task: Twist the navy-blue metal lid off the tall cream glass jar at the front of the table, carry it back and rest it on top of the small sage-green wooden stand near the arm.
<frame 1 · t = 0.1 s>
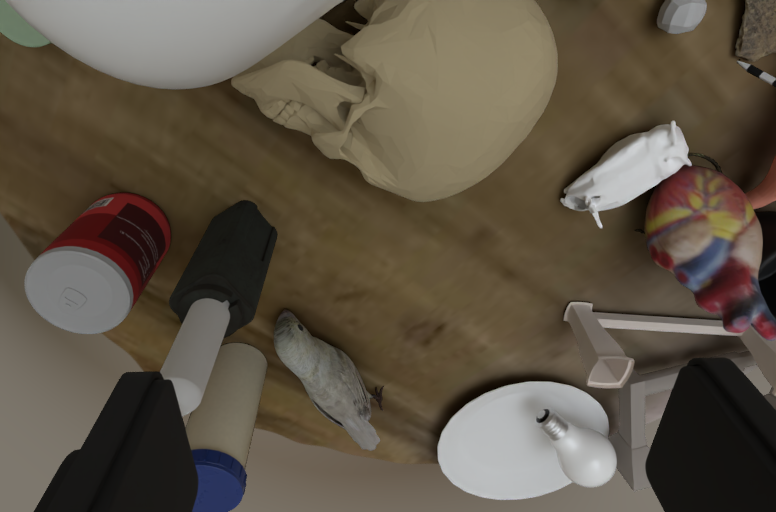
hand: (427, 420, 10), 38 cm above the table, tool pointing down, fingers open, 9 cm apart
lid: (203, 487, 46), point 15 cm above the table, screwed on, not yet turned
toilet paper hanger: (731, 422, 57), point 7 cm above the table, touching plate
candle: (244, 228, 51), on the table
mug: (758, 233, 53), on the table
canned food: (132, 227, 50), on the table
decorative bird: (330, 354, 59), on the table
stand: (51, 4, 40), on the table
bird figurine: (577, 207, 47), point 4 cm above the table
plate: (517, 430, 67), on the table, touching lightbulb, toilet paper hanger
jar: (239, 364, 59), on the table
lightbulb: (539, 412, 60), point 4 cm above the table, touching plate
toilet paper hanger 2: (690, 330, 53), point 5 cm above the table
anatomical model: (677, 193, 51), touching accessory
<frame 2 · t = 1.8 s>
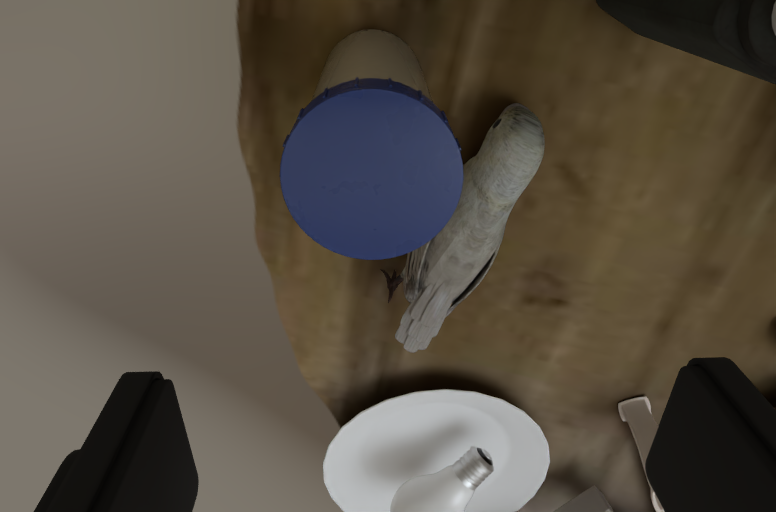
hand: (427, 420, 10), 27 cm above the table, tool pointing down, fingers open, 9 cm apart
lid: (372, 178, 20), point 15 cm above the table, screwed on, not yet turned
decorative bird: (455, 201, 38), on the table
plate: (433, 450, 51), on the table, touching lightbulb, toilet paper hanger
jar: (372, 82, 33), on the table
lightbulb: (489, 451, 46), point 4 cm above the table, touching plate
toilet paper hanger 2: (693, 507, 49), point 5 cm above the table
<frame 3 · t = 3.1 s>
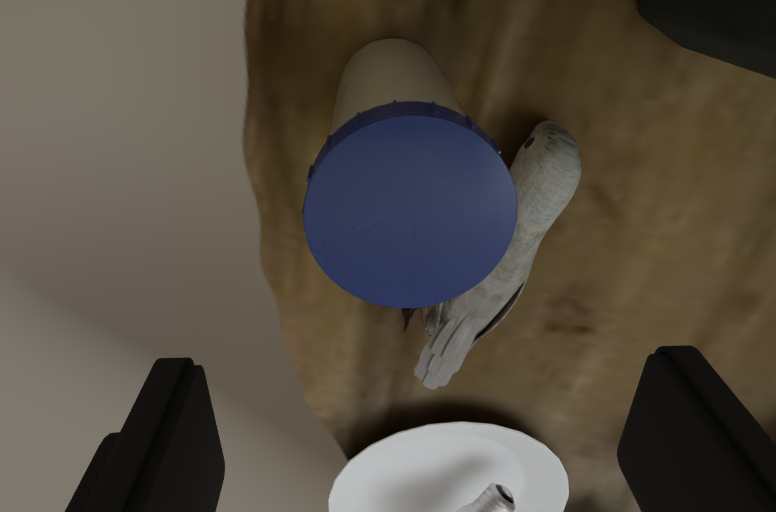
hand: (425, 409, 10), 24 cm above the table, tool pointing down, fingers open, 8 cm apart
lid: (409, 217, 17), point 15 cm above the table, screwed on, not yet turned
decorative bird: (477, 224, 35), on the table
plate: (445, 481, 48), on the table, touching lightbulb, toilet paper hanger
jar: (391, 96, 31), on the table
lightbulb: (509, 488, 43), point 4 cm above the table, touching plate
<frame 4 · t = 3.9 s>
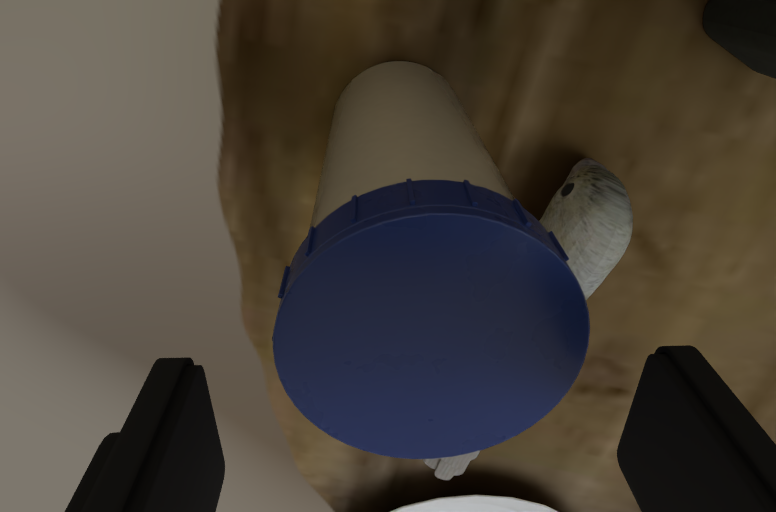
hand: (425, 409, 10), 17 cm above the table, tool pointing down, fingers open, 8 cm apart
lid: (430, 344, 12), point 15 cm above the table, screwed on, not yet turned
decorative bird: (498, 276, 30), on the table
jar: (398, 129, 25), on the table
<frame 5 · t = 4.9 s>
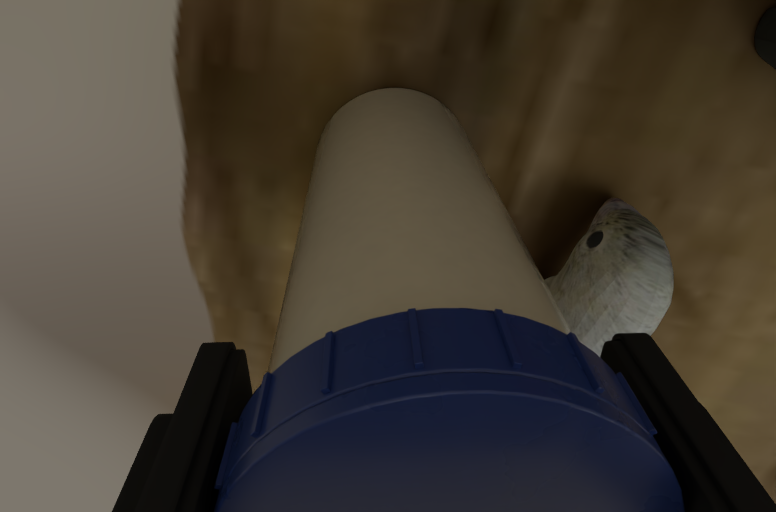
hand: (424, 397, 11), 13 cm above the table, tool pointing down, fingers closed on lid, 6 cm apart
decorative bird: (508, 327, 26), on the table
jar: (393, 166, 21), on the table
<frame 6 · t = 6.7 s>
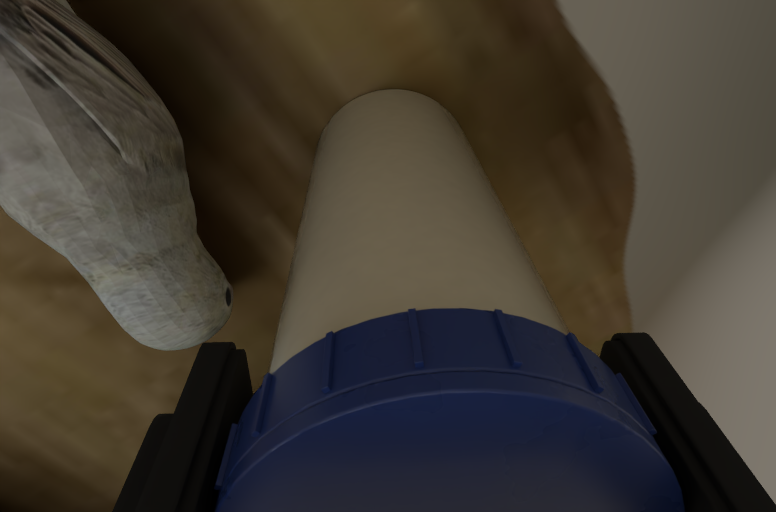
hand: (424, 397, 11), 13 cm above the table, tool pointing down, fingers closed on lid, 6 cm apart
decorative bird: (129, 122, 20), on the table
jar: (392, 167, 21), on the table
when the fingers open (1 cm above the table, at t = 19.1 s): lid stays where it is, resting on stand.
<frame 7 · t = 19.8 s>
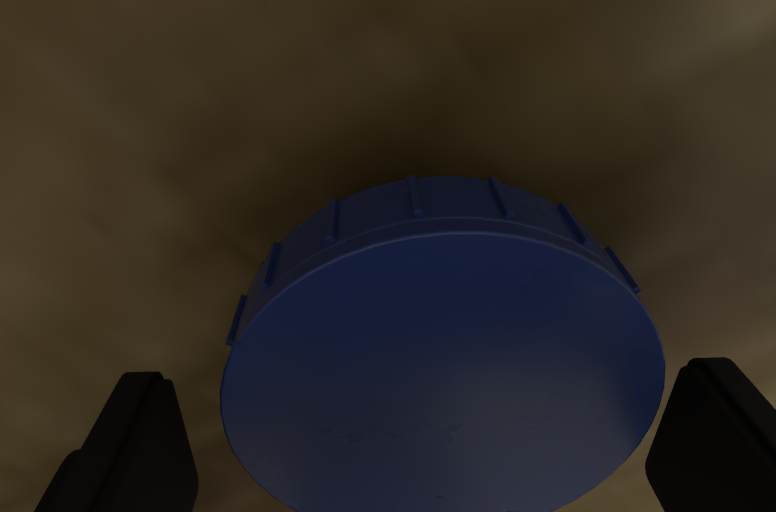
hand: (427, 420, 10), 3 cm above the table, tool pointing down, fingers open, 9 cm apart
lid: (440, 402, 9), point 4 cm above the table, off its thread, touching stand
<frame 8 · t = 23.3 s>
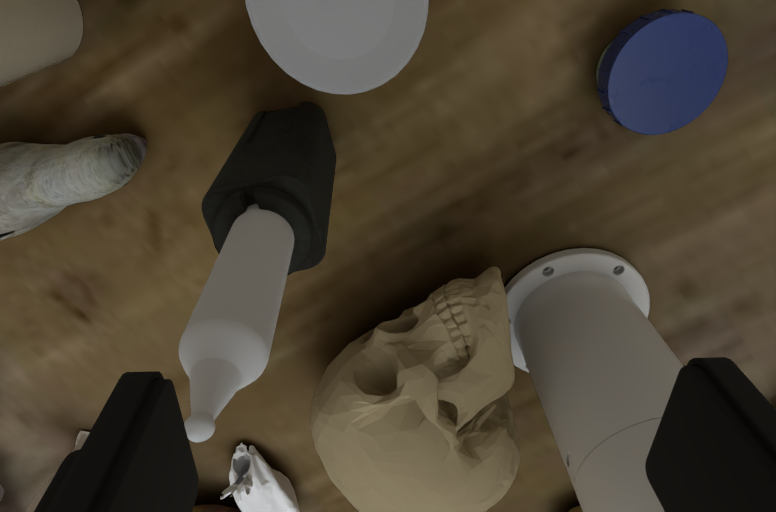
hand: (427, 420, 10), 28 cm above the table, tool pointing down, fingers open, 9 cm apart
lid: (664, 76, 31), point 4 cm above the table, off its thread, touching stand
skull: (559, 343, 37), point 7 cm above the table, touching arm
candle: (294, 142, 36), on the table
decorative bird: (42, 168, 37), on the table
bird figurine: (243, 476, 48), point 4 cm above the table
jar: (28, 11, 32), on the table
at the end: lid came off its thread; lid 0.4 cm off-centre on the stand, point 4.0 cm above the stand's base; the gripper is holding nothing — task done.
